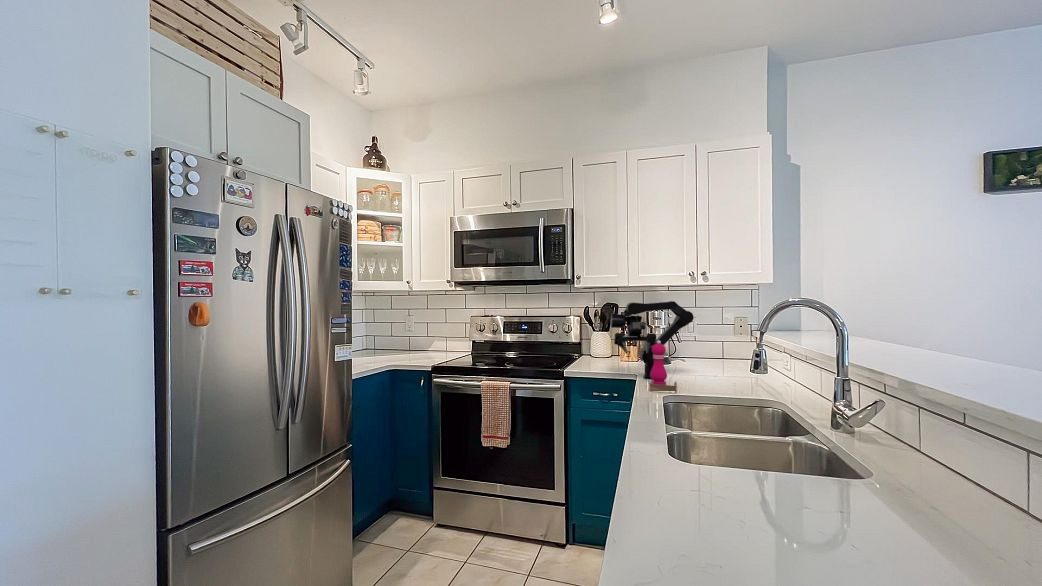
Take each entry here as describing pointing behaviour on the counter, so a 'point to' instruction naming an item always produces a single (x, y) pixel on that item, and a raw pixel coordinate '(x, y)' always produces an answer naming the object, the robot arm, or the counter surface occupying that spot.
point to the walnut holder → (662, 387)
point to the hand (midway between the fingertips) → (637, 353)
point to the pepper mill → (658, 364)
